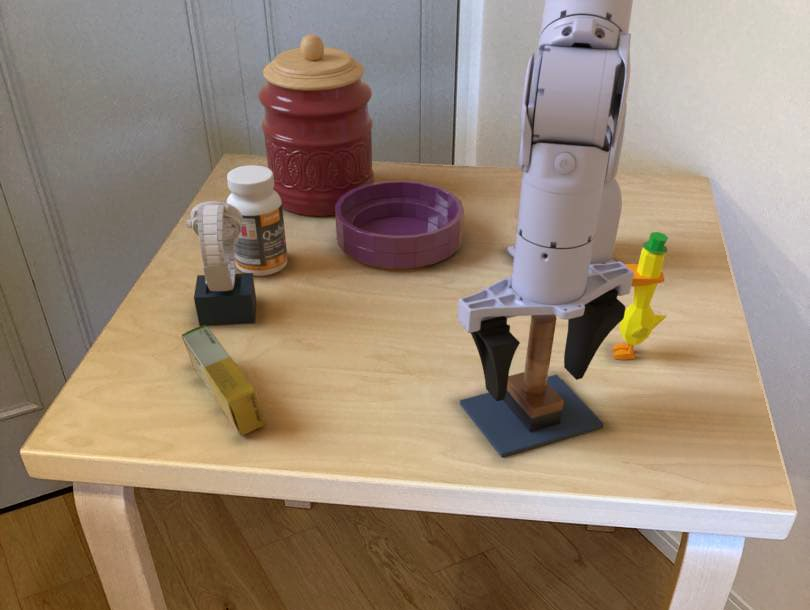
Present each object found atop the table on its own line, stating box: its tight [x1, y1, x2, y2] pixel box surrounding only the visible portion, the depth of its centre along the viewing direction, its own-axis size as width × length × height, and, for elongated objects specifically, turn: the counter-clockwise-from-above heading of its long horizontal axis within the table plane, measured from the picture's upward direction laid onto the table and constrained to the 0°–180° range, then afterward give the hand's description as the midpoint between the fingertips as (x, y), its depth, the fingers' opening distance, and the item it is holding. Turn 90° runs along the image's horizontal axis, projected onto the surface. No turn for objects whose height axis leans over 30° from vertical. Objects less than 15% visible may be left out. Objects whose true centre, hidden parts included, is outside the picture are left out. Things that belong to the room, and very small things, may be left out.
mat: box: [459, 373, 605, 458], centre depth 74 cm, size 10×8×1 cm
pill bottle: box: [226, 164, 288, 277], centre depth 88 cm, size 6×6×10 cm
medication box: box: [181, 325, 267, 437], centre depth 74 cm, size 12×3×4 cm, turn 30°
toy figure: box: [612, 231, 669, 361], centre depth 76 cm, size 7×4×12 cm, turn 87°
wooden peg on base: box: [503, 315, 564, 432], centre depth 70 cm, size 3×5×10 cm, turn 23°
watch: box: [186, 200, 257, 327], centre depth 81 cm, size 6×8×11 cm
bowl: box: [334, 179, 465, 270], centre depth 94 cm, size 14×14×4 cm
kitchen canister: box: [257, 33, 375, 217], centre depth 98 cm, size 13×13×18 cm
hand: (534, 383), depth 71 cm, fingers open, 7 cm apart
